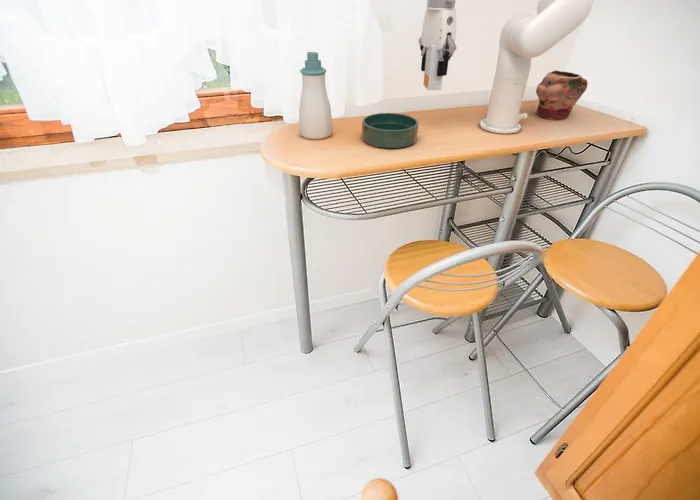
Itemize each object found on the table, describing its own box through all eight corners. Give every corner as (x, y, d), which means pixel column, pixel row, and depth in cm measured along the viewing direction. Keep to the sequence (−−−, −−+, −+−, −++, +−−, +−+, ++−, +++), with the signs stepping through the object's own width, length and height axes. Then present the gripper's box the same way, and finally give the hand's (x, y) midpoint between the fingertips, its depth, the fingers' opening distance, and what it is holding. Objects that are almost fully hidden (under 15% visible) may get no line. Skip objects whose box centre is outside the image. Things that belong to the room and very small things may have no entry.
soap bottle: (326, 128, 127) (324, 49, 114) (336, 138, 120) (335, 55, 107) (296, 131, 124) (290, 51, 111) (304, 142, 117) (299, 57, 104)
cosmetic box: (422, 85, 123) (426, 42, 116) (436, 85, 123) (441, 41, 116) (427, 90, 118) (431, 45, 111) (441, 90, 118) (446, 45, 111)
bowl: (397, 127, 128) (398, 110, 125) (427, 144, 116) (429, 125, 113) (352, 135, 122) (352, 117, 119) (379, 153, 110) (380, 134, 107)
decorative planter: (561, 107, 147) (574, 67, 139) (589, 117, 138) (605, 74, 130) (520, 113, 141) (531, 71, 133) (546, 124, 132) (560, 79, 124)
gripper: (473, 4, 103) (462, 77, 113) (432, 0, 115) (426, 66, 126) (450, 5, 100) (441, 80, 110) (411, 1, 113) (406, 69, 123)
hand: (433, 72), depth 118 cm, fingers closed on cosmetic box, 7 cm apart
